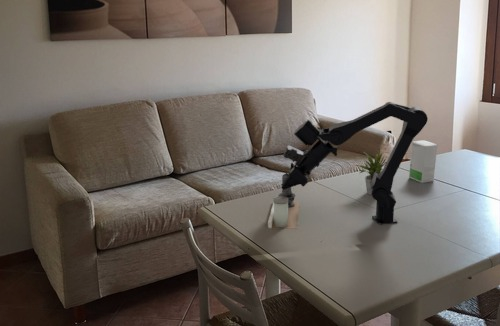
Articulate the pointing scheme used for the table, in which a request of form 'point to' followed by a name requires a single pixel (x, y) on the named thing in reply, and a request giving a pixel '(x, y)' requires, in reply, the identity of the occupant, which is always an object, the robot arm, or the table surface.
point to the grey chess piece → (287, 192)
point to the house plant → (372, 169)
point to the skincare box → (423, 161)
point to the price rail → (271, 217)
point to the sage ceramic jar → (280, 211)
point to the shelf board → (291, 217)
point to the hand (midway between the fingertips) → (282, 186)
